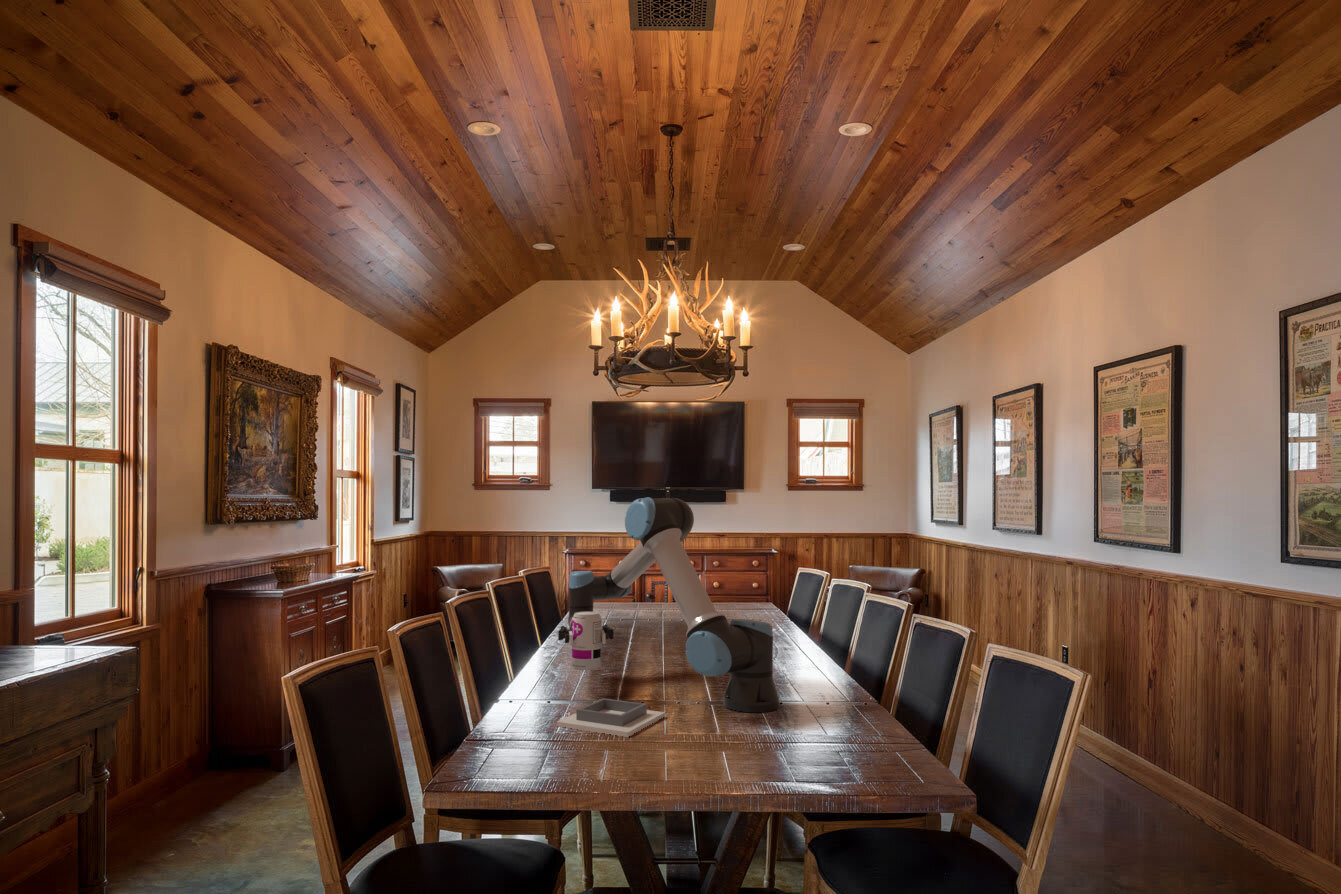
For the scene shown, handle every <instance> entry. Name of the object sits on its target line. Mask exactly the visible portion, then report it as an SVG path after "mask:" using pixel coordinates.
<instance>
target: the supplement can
mask: <svg viewBox="0 0 1341 894" xmlns="http://www.w3.org/2000/svg"><path fill="white" fill-rule="evenodd" d="M602 620H603V619H602V617H601V615H600V612H598V611H593V612H591V611H586V612H576V613H574V616H573V618H572V633H573V645H571V667H572V668H573V669H574V670H576V671H593V670H598V669H599V668H600V667H601V666H602V645H603V643H602V626H603V625H602V624H603V623H602Z"/></svg>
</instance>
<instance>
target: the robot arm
mask: <svg viewBox="0 0 1341 894" xmlns="http://www.w3.org/2000/svg"><path fill="white" fill-rule="evenodd" d="M694 519H695V517H694V513H693V510H692V508H691V506H690V505H689V504H688V503H687V502H686V501H684V500H682V499H680V498H676V497H663V498H661V497H660V498H659V497H658V498H657V497H656V498H655V497H654V498H652V497H643V498H642V497H641V498H637V499H635V500H633V501H632V502H631V503H630V504H629V506H628V508H627V510H626V512H625V517H624V528H625V530H626V533H627V535H628V536H629V538H631V539H633V540H634V541H640V542H639V543H638V544H637V545H636V546H635V547H634V548H633V549H632V550H631V551H630V552H629V553H628V554H627V555H626V556H625V557H624V558H623V559H622V560H621V561H620V562H619V563H618V564H617V565H615V566H614V568H613V569H612V570H611V571H610V572H609V573H608V574H606V575H596V576H594V573H593V571H591V570H575V571H571V573H570V574H569V579H568V580H569V581H568V597H569V599H568V601H569V605H568V618H567V619H568V621H567V625H568V626H565V625H561V626H560V628H559V630H558V631H557V632H558V633H557V635H558V636H557V640H558V641H563V640H564V643H565V644H569V645H570V646H572V645H573V633H572V618H573V616H574V613H576V612H586V611H591V612H594V603H595V602H594V601H603V600H615V599H621V598H625V597H627V596H628V595H629V594H630V592H631V590H632V584H634V582H635V581H636V580H638V579H639V577H641V576H642V575H643V574H644V573H645V572H646V571H647V570H649V568H650V567H651V566H652V565H653V564H654V563H656V564H657V566H658V568H659V571H660V572H661V574H662V576H663V578H664V580H665V583H666V584H667V587H668V589H669V591H670V593H671V595H672V597H673V599H674V601H675V603H676V606H677V607H678V609H679V611H680V613H681V615H682V617H683V619H684V621H685V624H686V625H687V631H686V634H685V636H686V638H687V640H686V643H685V657H686V659H687V661H688V663H689V665H690V666H691V668H692V669H693V670H694V671H695V672H696V673H697V674H700V675H702V676H704V677H721V676H723V675H725V674H729V678H728V682H727V685H726V688H725V691H724V694H723V706H724V707H725V708H727V709H728V710H731V709H732V710H731V711H735V710H736V712H741V711H742V712H743V713H767V712H772V711H775V710H779V708H780V696H779V694H778V690H777V687H776V685H775V681H774V677H773V675H774V673H773V668H774V667H773V665H774V664H773V663H774V659H773V657H774V649H773V648H774V634H773V632H774V631H773V626H772V625H771V623H768V622H766V621H761V620H760V621H759V620H752V619H740V618H734V619H733V618H732V619H731V620H730V623H729V621H728V619H727V617H726V616H725V614H722V613H719V612H717V610H716V608H715V607H714V604H713V602H712V600H711V598H710V596H709V595H708V592H707V590H706V589H705V587H704V584H703V583H702V581H701V579H700V577H699V575H698V572H697V571H696V569H695V566H694V564H693V563H692V561H691V558H690V557H689V555H688V554H687V551H686V549H685V547H684V545H683V543H682V542H683V541H684V540H685V539H686V538H687V537H688V535H689V534H690V533H691V531H692V529H693V527H694V524H695V523H694V522H695V520H694ZM614 632H615V631H614V629H613V628H611V627H609V626H608V625H607V624H604V625H602V645H606V640H609V639H610V640H613V639H614V638H615V637H614Z"/></svg>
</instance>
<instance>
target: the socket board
mask: <svg viewBox="0 0 1341 894" xmlns="http://www.w3.org/2000/svg"><path fill="white" fill-rule="evenodd" d="M647 707H648V704H647V703H644V702H643V703H642V702H633V701H625V700H618V699H611V698H604V697H603V698H600V699H598V700H596V701H594V702H591V703H588V704H586V705H584V706H582V707H580V708H577V709H576V712H575V713H573V714H570V715H568V716H566V717H564V718H562V719H560V720H558V721H556V727H557V726H558V728H563V727H566V728H565V729H570V728H572V729H571V730H576V729H578V731H584V732H589V731H590V733H591V732H592V733H596V732H597V733H596V734H602V733H605V734H604V735H609V734H611V735H610V736H615V735H617V737H622V736H623V737H622V738H629V736H630V737H631V736H633V735H635V734H636V732H637V733H639V732H640V731H642V730H644V729H646V728H648V727H650V726H651V725H653V724H655V723H657V722H659V721H660V720H659V719H661V718H662V719H664V718H665V717H666V712H665V711H656V710H652V709H651V710H649V709H648V708H647ZM663 717H664V718H663ZM662 719H661V720H662ZM658 720H659V721H658ZM656 721H657V722H656ZM654 722H655V723H654ZM652 723H653V724H652ZM650 724H651V725H650ZM649 725H650V726H649ZM647 726H648V727H647ZM645 727H646V728H645ZM643 728H644V729H643ZM641 729H642V730H641ZM638 731H639V732H638ZM634 733H635V734H634Z"/></svg>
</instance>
